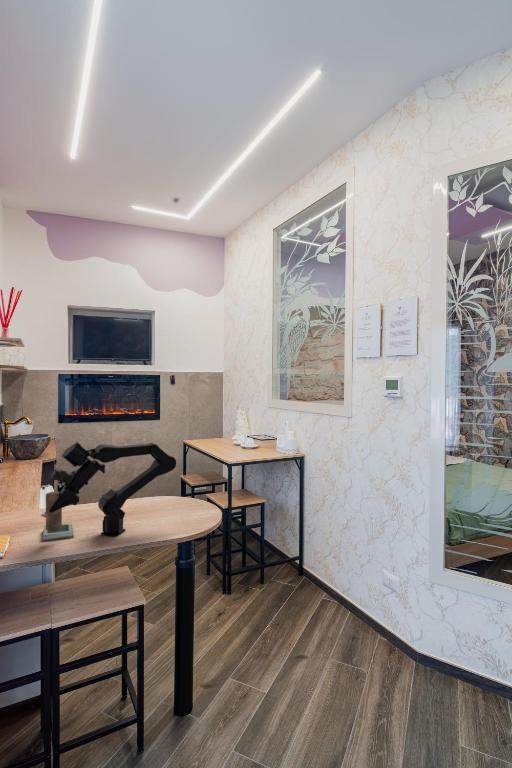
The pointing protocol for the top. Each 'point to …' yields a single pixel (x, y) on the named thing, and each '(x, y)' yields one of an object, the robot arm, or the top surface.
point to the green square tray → (58, 533)
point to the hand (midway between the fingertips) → (49, 509)
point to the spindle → (53, 513)
